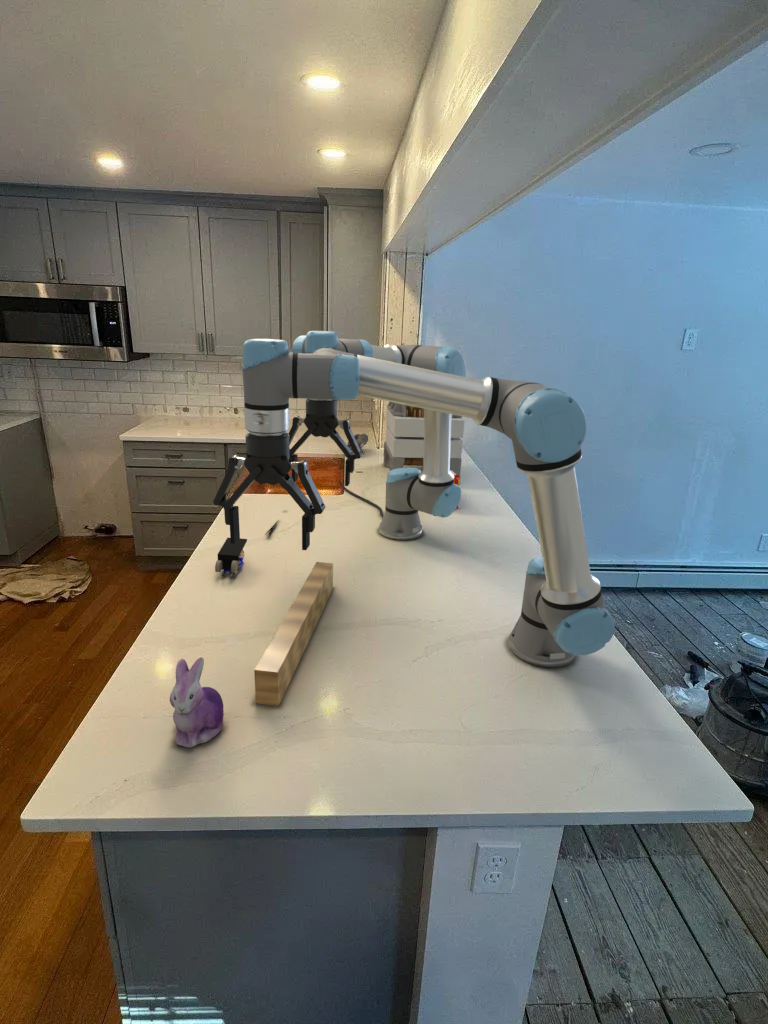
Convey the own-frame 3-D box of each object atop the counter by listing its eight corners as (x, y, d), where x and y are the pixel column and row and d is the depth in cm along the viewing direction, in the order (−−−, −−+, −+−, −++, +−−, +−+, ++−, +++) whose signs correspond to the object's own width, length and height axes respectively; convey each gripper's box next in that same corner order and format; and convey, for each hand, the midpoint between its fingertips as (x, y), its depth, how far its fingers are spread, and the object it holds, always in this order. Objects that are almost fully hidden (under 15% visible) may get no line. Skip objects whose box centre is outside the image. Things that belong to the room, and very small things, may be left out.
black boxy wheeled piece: (238, 584, 162) (249, 557, 175) (236, 562, 158) (247, 536, 172) (215, 584, 161) (227, 556, 175) (212, 561, 158) (225, 535, 171)
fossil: (344, 439, 317) (365, 424, 312) (355, 453, 320) (376, 438, 315) (338, 453, 298) (360, 437, 293) (349, 467, 300) (371, 451, 295)
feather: (285, 514, 217) (288, 510, 216) (267, 540, 190) (270, 535, 190) (282, 511, 216) (284, 507, 216) (262, 537, 190) (265, 532, 189)
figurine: (177, 757, 98) (169, 685, 93) (168, 720, 106) (161, 652, 101) (232, 741, 102) (228, 671, 97) (219, 707, 111) (215, 640, 105)
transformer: (382, 463, 289) (386, 382, 275) (445, 464, 293) (451, 384, 279) (390, 482, 257) (394, 392, 243) (460, 483, 261) (468, 394, 247)
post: (316, 586, 160) (316, 561, 157) (332, 588, 159) (333, 563, 157) (255, 703, 112) (254, 669, 110) (278, 706, 112) (277, 672, 109)
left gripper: (266, 397, 134) (268, 482, 142) (370, 403, 132) (367, 490, 139) (276, 392, 141) (277, 474, 149) (374, 399, 139) (371, 482, 146)
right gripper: (189, 431, 96) (197, 545, 104) (333, 441, 94) (331, 558, 101) (207, 422, 103) (214, 530, 111) (342, 432, 101) (340, 542, 108)
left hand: (320, 482), depth 144 cm, fingers open, 13 cm apart
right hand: (270, 544), depth 106 cm, fingers open, 13 cm apart
